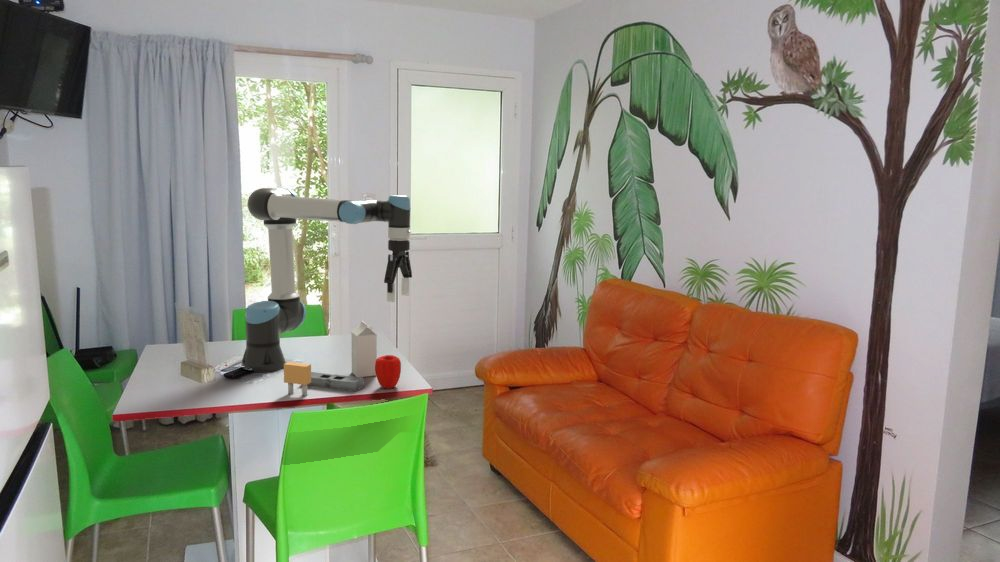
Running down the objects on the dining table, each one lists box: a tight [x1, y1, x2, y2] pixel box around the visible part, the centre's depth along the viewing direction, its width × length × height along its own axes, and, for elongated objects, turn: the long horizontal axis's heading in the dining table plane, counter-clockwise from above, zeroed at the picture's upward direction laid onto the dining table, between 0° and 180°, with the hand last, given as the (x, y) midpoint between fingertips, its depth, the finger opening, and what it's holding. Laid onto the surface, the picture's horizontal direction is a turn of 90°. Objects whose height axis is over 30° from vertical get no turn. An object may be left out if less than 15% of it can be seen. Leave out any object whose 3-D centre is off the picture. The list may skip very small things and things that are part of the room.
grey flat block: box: [300, 371, 365, 392], centre depth 240 cm, size 20×6×3 cm, turn 75°
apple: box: [375, 354, 402, 389], centre depth 239 cm, size 9×9×11 cm
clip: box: [283, 361, 312, 397], centre depth 229 cm, size 8×3×10 cm, turn 75°
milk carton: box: [351, 320, 378, 378], centre depth 253 cm, size 7×7×19 cm
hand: (398, 298), depth 255 cm, fingers open, 13 cm apart
